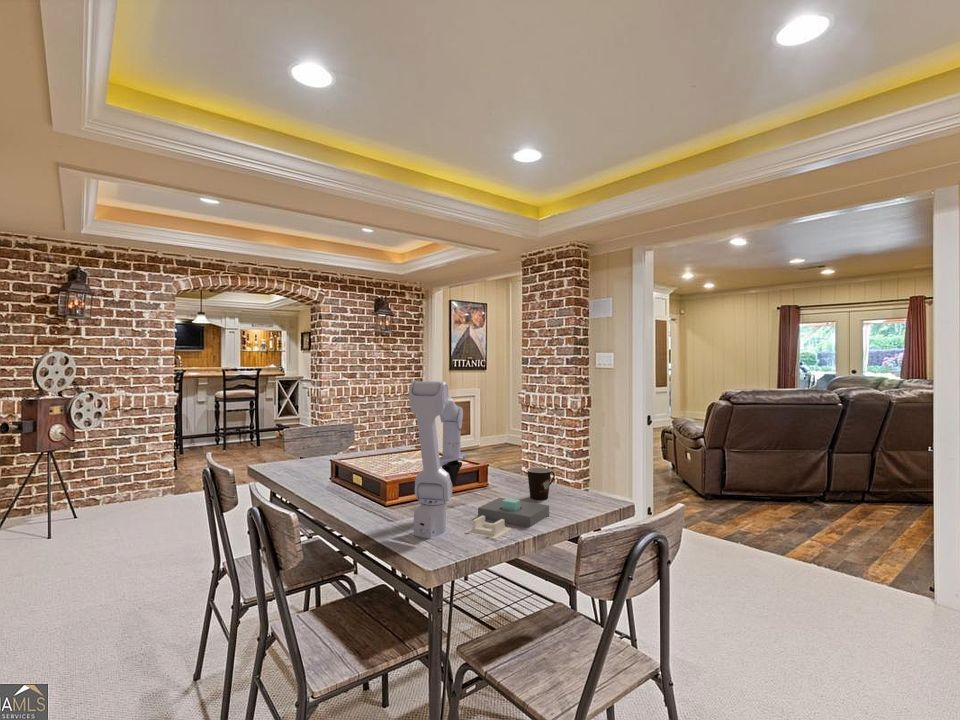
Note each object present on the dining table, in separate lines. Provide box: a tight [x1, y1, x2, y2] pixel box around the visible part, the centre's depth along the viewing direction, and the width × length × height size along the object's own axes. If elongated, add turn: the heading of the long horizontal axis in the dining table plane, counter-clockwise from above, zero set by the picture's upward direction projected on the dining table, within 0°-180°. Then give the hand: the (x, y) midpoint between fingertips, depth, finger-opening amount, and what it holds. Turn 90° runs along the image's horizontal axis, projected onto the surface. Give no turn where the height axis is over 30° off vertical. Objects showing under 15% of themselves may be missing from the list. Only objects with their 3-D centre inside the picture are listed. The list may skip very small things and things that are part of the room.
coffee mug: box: [526, 467, 556, 501], centre depth 188 cm, size 12×9×10 cm
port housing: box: [477, 497, 550, 528], centre depth 164 cm, size 14×18×4 cm
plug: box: [502, 497, 521, 512], centre depth 162 cm, size 4×4×6 cm
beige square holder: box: [464, 516, 512, 539], centre depth 150 cm, size 10×10×4 cm
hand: (451, 484), depth 167 cm, fingers closed
